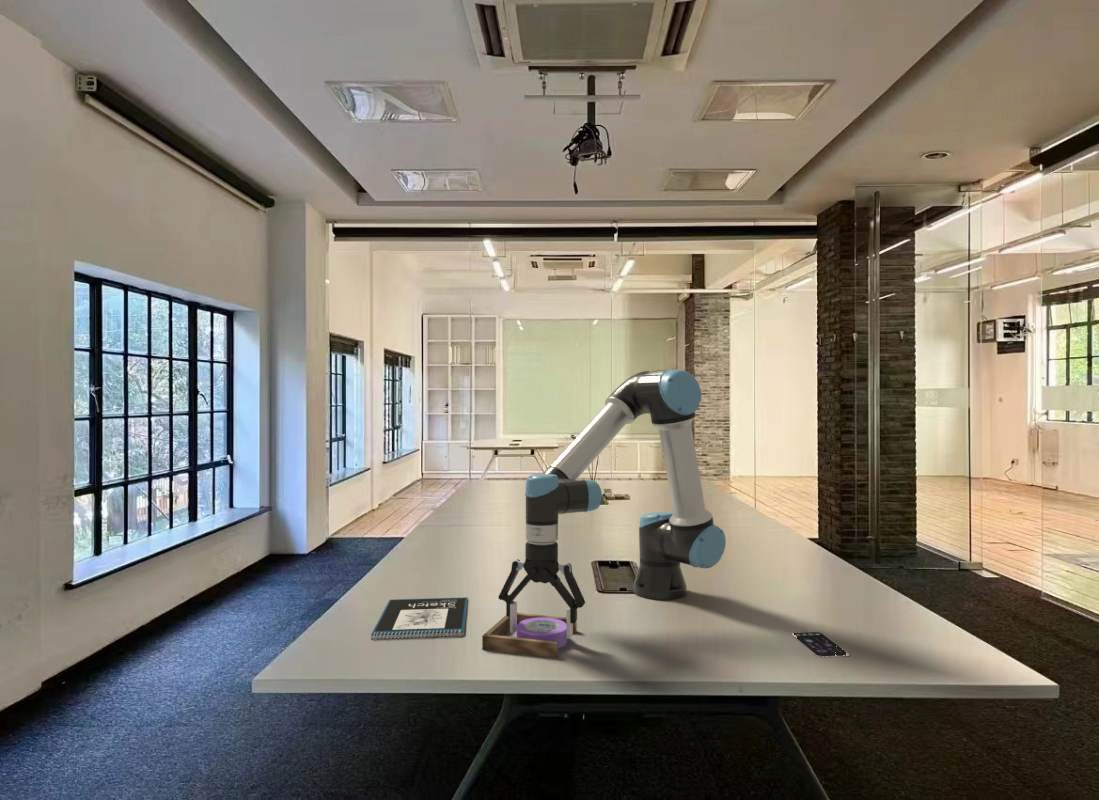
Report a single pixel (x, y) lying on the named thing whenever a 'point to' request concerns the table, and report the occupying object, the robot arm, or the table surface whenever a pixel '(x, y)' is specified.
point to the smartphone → (819, 644)
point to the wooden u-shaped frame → (520, 645)
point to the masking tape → (543, 630)
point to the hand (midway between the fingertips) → (541, 633)
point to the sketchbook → (422, 618)
